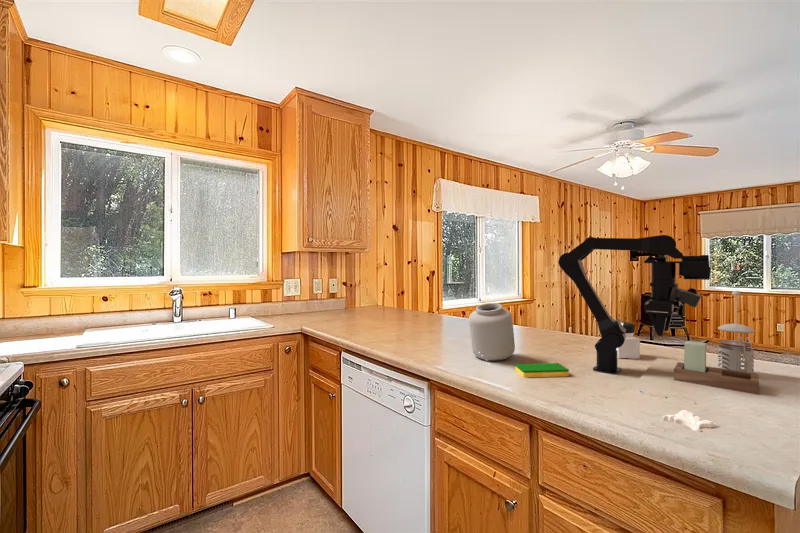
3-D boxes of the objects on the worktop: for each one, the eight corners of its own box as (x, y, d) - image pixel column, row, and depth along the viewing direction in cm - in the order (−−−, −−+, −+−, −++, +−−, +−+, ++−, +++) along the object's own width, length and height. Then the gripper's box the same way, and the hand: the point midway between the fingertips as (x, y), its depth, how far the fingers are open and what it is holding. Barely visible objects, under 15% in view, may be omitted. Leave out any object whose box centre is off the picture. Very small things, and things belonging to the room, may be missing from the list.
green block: (704, 383, 100) (704, 346, 100) (684, 379, 103) (684, 343, 103) (705, 379, 104) (706, 343, 103) (686, 375, 107) (686, 340, 106)
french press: (747, 372, 112) (748, 289, 112) (770, 385, 101) (771, 293, 101) (707, 369, 115) (708, 288, 115) (726, 381, 105) (727, 292, 104)
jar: (499, 368, 119) (498, 289, 118) (458, 360, 128) (458, 288, 128) (521, 355, 134) (521, 286, 133) (483, 349, 143) (483, 284, 142)
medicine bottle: (629, 353, 135) (629, 320, 135) (640, 359, 128) (640, 324, 128) (608, 353, 136) (608, 320, 136) (618, 358, 129) (618, 324, 128)
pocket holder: (759, 398, 92) (759, 382, 91) (673, 383, 103) (673, 369, 103) (758, 389, 98) (758, 374, 98) (678, 375, 110) (678, 362, 110)
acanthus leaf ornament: (661, 422, 81) (661, 413, 81) (679, 416, 84) (679, 407, 84) (702, 436, 74) (702, 427, 74) (719, 429, 77) (719, 420, 77)
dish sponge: (514, 371, 117) (514, 363, 117) (557, 370, 118) (557, 362, 118) (523, 378, 110) (523, 370, 110) (569, 377, 110) (569, 369, 110)
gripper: (695, 281, 95) (695, 343, 95) (702, 278, 108) (701, 332, 109) (644, 280, 102) (643, 337, 103) (656, 277, 116) (655, 327, 116)
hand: (663, 333), depth 107 cm, fingers open, 9 cm apart
